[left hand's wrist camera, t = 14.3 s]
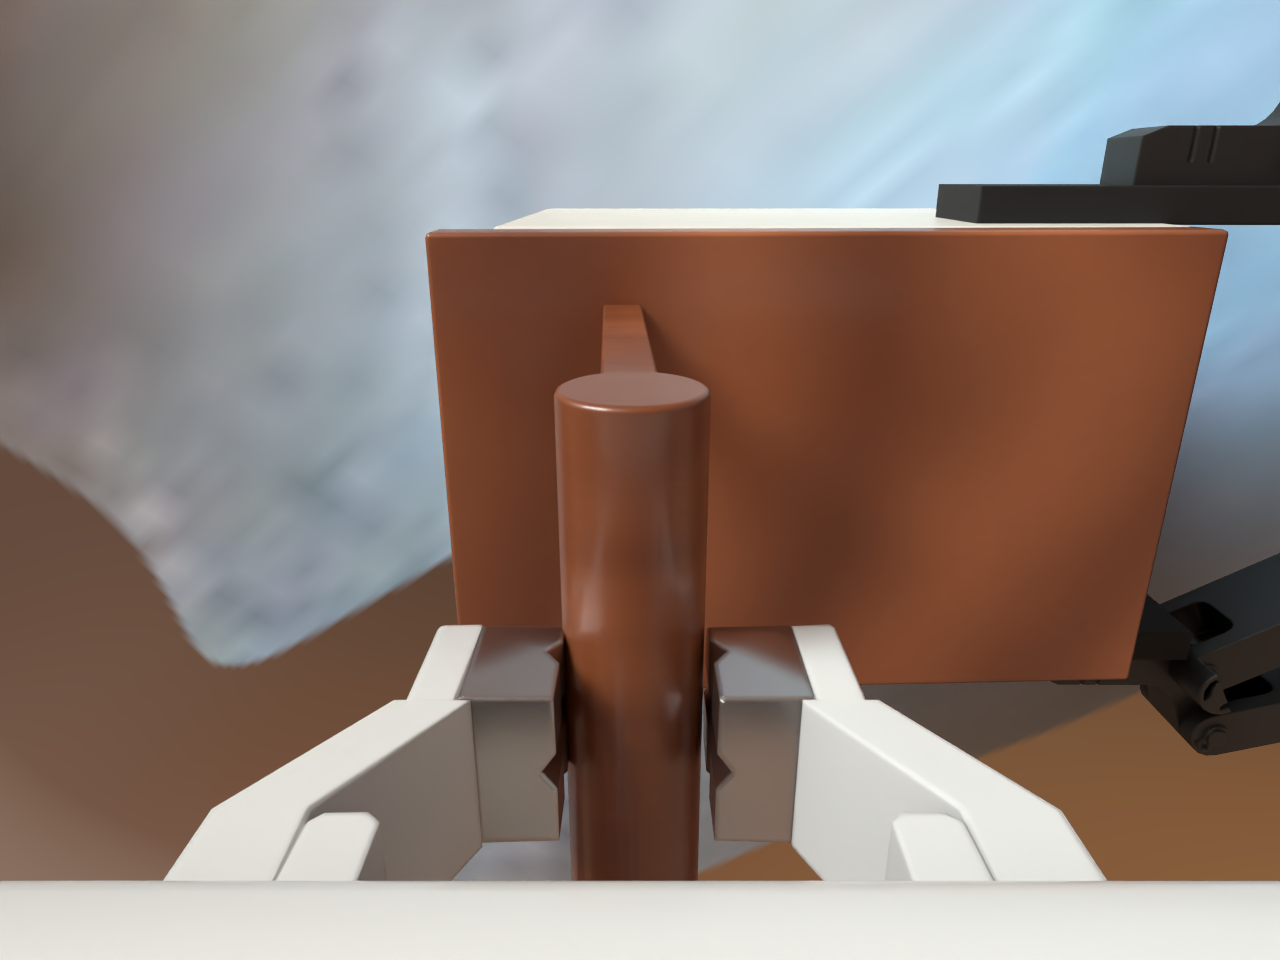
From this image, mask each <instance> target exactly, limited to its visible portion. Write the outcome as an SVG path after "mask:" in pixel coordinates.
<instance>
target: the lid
mask: <svg viewBox="0 0 1280 960" xmlns="http://www.w3.org/2000/svg"><path fill="white" fill-rule="evenodd" d="M1227 238H1228V232H1227V231H1225V230H1222V229H1212V228H1201V227H999V228H699V229H439V230H436V231H433V232H430V233H428V234H426V237H425V240H426V252H427V264H428V276H429V288H430V299H431V311H432V323H433V335H434V347H435V359H436V371H437V382H438V394H439V406H440V418H441V430H442V442H443V453H444V465H445V477H446V489H447V501H448V513H449V525H450V536H451V548H452V560H453V572H454V584H455V596H456V607H457V619H458V625H483V626H486V625H490V626H544V627H562V629H563V631H564V638H565V661H566V690H565V707H566V712H567V716H568V751H569V763H568V795H569V822H570V849H571V876H572V881H697V877H698V841H699V806H700V770H701V735H702V699H703V688H708V682H707V673H706V665H705V645H706V632H707V628H709V627H748V626H789V625H791V626H803V625H826V624H830V625H831V626H833V627H835V629H836V632H837V634H838V636H839V638H840V641H841V643H842V645H843V648H844V650H845V652H846V654H847V657H848V659H849V661H850V663H851V666H852V668H853V670H854V673H855V675H856V677H857V679H858V682H859V684H860V685H870V684H918V683H965V682H1013V681H1061V680H1109V679H1126V678H1127V677H1128V675H1129V670H1130V666H1131V662H1132V657H1133V653H1134V648H1135V644H1136V639H1137V635H1138V631H1139V626H1140V622H1141V617H1142V613H1143V609H1144V604H1145V600H1146V595H1147V591H1148V587H1149V582H1150V578H1151V573H1152V569H1153V565H1154V560H1155V556H1156V551H1157V547H1158V543H1159V538H1160V534H1161V529H1162V525H1163V520H1164V516H1165V512H1166V507H1167V503H1168V498H1169V494H1170V490H1171V485H1172V481H1173V476H1174V472H1175V468H1176V463H1177V459H1178V454H1179V450H1180V446H1181V441H1182V437H1183V432H1184V428H1185V424H1186V419H1187V415H1188V410H1189V406H1190V402H1191V397H1192V393H1193V388H1194V384H1195V379H1196V375H1197V371H1198V366H1199V362H1200V357H1201V353H1202V349H1203V344H1204V340H1205V335H1206V331H1207V327H1208V322H1209V318H1210V313H1211V309H1212V305H1213V300H1214V296H1215V291H1216V287H1217V283H1218V278H1219V274H1220V269H1221V265H1222V260H1223V256H1224V252H1225V247H1226V243H1227Z"/></svg>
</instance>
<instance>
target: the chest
mask: <svg viewBox="0 0 1280 960" xmlns="http://www.w3.org/2000/svg"><path fill="white" fill-rule="evenodd" d="M935 216H936V208H837V209H547V210H544V211H541V212H538V213H535V214H532V215H529V216H526V217H523V218H520V219H517V220H515V221H512V222H509V223H506V224H503V225H500V226H497V227H495V228H494V229H699V228H999V227H1189V226H1182V225H1172V224H976V223H970V222H963V221H957V220H950V219H944V218H937V217H935Z"/></svg>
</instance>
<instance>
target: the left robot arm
mask: <svg viewBox="0 0 1280 960" xmlns="http://www.w3.org/2000/svg"><path fill="white" fill-rule="evenodd" d="M705 665H706V673H707V682H708V688H707V689H706V690H705V691H704V749H705V761H706V771H707V772H709V773H710V795H709V798H710V806H711V814H712V823H713V831H714V839H715V840H721V841H757V842H792V843H791V846H792V847H793V848H794V849H795V850H796V852H797V853H798V854H799V855H800V856H801V857H802V858H803V859H804V860H805V862H806V863H807V864H808V865H809V866H810V867H811V868H812V869H813V870H814V871H815V872H816V874H817V875H818V876H819V877H820V878H821V879H822V880H823V881H451V880H452V879H453V878H454V877H455V876H456V874H457V873H458V872H459V871H460V870H461V869H462V868H463V867H464V866H465V865H466V864H467V863H468V861H469V860H470V859H471V858H472V857H473V856H474V855H475V854H476V853H477V852H478V851H479V849H480V848H481V847H482V842H515V841H550V840H559V836H560V829H561V821H562V813H563V805H564V774H565V773H566V772H567V771H568V763H569V751H568V716H567V712H566V707H565V690H566V661H565V638H564V631H563V629H562V627H544V626H490V625H486V626H483V625H444V626H442V627H440V628H439V629H438V631H437V633H436V635H435V637H434V639H433V642H432V644H431V646H430V648H429V651H428V653H427V655H426V658H425V660H424V662H423V664H422V666H421V669H420V671H419V673H418V675H417V678H416V680H415V682H414V684H413V687H412V689H411V691H410V693H409V696H408V698H407V700H393V701H392V702H390V703H388V704H387V705H385V706H383V707H382V708H380V709H378V710H377V711H375V712H373V713H372V714H370V715H368V716H367V717H365V718H363V719H362V720H360V721H358V722H357V723H355V724H353V725H352V726H350V727H348V728H347V729H345V730H343V731H341V732H340V733H338V734H336V735H335V736H333V737H332V738H330V739H328V740H326V741H325V742H323V743H321V744H320V745H318V746H316V747H315V748H313V749H311V750H310V751H308V752H306V753H305V754H303V755H301V756H300V757H298V758H296V759H295V760H293V761H291V762H290V763H288V764H286V765H285V766H283V767H281V768H279V769H278V770H276V771H274V772H273V773H271V774H269V775H268V776H266V777H264V778H263V779H261V780H259V781H258V782H256V783H254V784H253V785H251V786H249V787H248V788H246V789H244V790H243V791H241V792H239V793H238V794H236V795H234V796H233V797H231V798H229V799H228V800H226V801H224V802H223V803H221V804H219V805H217V806H216V807H214V808H212V809H211V811H210V812H209V814H208V815H207V817H206V818H205V820H204V821H203V823H202V824H201V825H200V827H199V828H198V830H197V831H196V833H195V834H194V836H193V837H192V839H191V840H190V842H189V843H188V845H187V846H186V848H185V849H184V851H183V852H182V854H181V855H180V856H179V858H178V859H177V861H176V862H175V864H174V865H173V867H172V868H171V870H170V871H169V873H168V874H167V876H166V877H165V879H164V880H163V881H0V960H1280V881H1107V880H1106V878H1105V876H1104V875H1103V874H1102V872H1101V870H1100V869H1099V867H1098V866H1097V864H1096V863H1095V861H1094V860H1093V858H1092V857H1091V855H1090V854H1089V852H1088V851H1087V849H1086V848H1085V846H1084V844H1083V843H1082V841H1081V840H1080V838H1079V837H1078V835H1077V834H1076V832H1075V831H1074V829H1073V828H1072V826H1071V825H1070V823H1069V822H1068V820H1067V819H1066V817H1065V816H1064V814H1063V812H1062V811H1061V810H1060V809H1058V808H1057V807H1055V806H1053V805H1052V804H1050V803H1048V802H1047V801H1045V800H1043V799H1042V798H1040V797H1038V796H1037V795H1035V794H1033V793H1032V792H1030V791H1028V790H1027V789H1025V788H1023V787H1022V786H1020V785H1018V784H1017V783H1015V782H1014V781H1012V780H1010V779H1009V778H1007V777H1005V776H1004V775H1002V774H1000V773H999V772H997V771H995V770H994V769H992V768H990V767H989V766H987V765H985V764H984V763H982V762H980V761H979V760H977V759H975V758H974V757H972V756H971V755H969V754H967V753H966V752H964V751H962V750H961V749H959V748H957V747H956V746H954V745H952V744H951V743H949V742H947V741H946V740H944V739H942V738H941V737H939V736H937V735H936V734H934V733H933V732H931V731H929V730H928V729H926V728H924V727H923V726H921V725H919V724H918V723H916V722H914V721H913V720H911V719H909V718H908V717H906V716H904V715H903V714H901V713H899V712H898V711H896V710H894V709H893V708H891V707H890V706H888V705H886V704H885V703H883V702H881V701H880V700H866V698H865V695H864V693H863V691H862V689H861V686H860V684H859V682H858V679H857V677H856V675H855V673H854V670H853V668H852V666H851V663H850V661H849V659H848V657H847V654H846V652H845V650H844V648H843V645H842V643H841V641H840V638H839V636H838V634H837V632H836V629H835V627H833V626H831V625H830V624H826V625H803V626H791V625H789V626H748V627H709V628H707V632H706V645H705Z"/></svg>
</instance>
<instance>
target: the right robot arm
mask: <svg viewBox="0 0 1280 960" xmlns="http://www.w3.org/2000/svg"><path fill="white" fill-rule="evenodd" d="M935 217H937V218H944V219H950V220H957V221H963V222H970V223H976V224H1172V225H1280V103H1279V104H1278V106H1277V107H1276V109H1275V110H1274V111H1273V112H1272V113H1271V114H1270V115H1269V116H1268V117H1267V118H1266V119H1265V120H1263V121H1262V122H1260V123H1259V124H1257V125H1254V126H1159V127H1148V128H1138V129H1131V130H1129V131H1126V132H1124V133H1121V134H1119V135H1116V136H1113V137H1111V138H1108V140H1107V146H1106V151H1105V157H1104V163H1103V169H1102V174H1101V180H1100V184H939V190H938V199H937V208H936V216H935ZM1051 682H1054V683H1056V684H1080V683H1081V684H1085V685H1095V684H1099V685H1140V690H1141V693H1142V695H1143V696H1144V697H1145V698H1146V699H1147V700H1148V701H1149V702H1150V703H1151V704H1152V705H1153V706H1154V707H1155V708H1156V709H1157V711H1158V712H1159V713H1160V714H1161V715H1162V716H1163V717H1164V718H1165V719H1166V720H1167V721H1168V722H1169V723H1170V724H1171V725H1172V726H1173V727H1174V729H1175V730H1176V731H1177V732H1178V733H1179V734H1180V735H1181V736H1182V737H1183V738H1184V739H1185V740H1186V741H1187V742H1188V743H1189V744H1190V745H1191V746H1192V748H1193V749H1195V750H1196V751H1197V752H1198V753H1200V754H1204V755H1218V754H1223V753H1228V752H1233V751H1238V750H1243V749H1248V748H1253V747H1258V746H1263V745H1268V744H1273V743H1278V742H1280V553H1279V554H1277V555H1274V556H1272V557H1270V558H1267V559H1265V560H1263V561H1260V562H1258V563H1256V564H1253V565H1251V566H1249V567H1246V568H1244V569H1242V570H1239V571H1237V572H1235V573H1232V574H1230V575H1228V576H1225V577H1223V578H1221V579H1218V580H1216V581H1213V582H1211V583H1209V584H1206V585H1204V586H1202V587H1199V588H1197V589H1195V590H1192V591H1190V592H1188V593H1185V594H1183V595H1181V596H1178V597H1176V598H1174V599H1171V600H1169V601H1167V602H1164V603H1162V604H1160V605H1159V604H1158V603H1157V602H1156V601H1155V600H1153V599H1152V598H1151V597H1150V596H1149V595H1148V594H1147V595H1146V600H1145V604H1144V609H1143V613H1142V617H1141V622H1140V626H1139V631H1138V635H1137V639H1136V644H1135V648H1134V653H1133V657H1132V662H1131V666H1130V670H1129V675H1128V677H1127V678H1126V679H1109V680H1061V681H1051Z"/></svg>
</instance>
